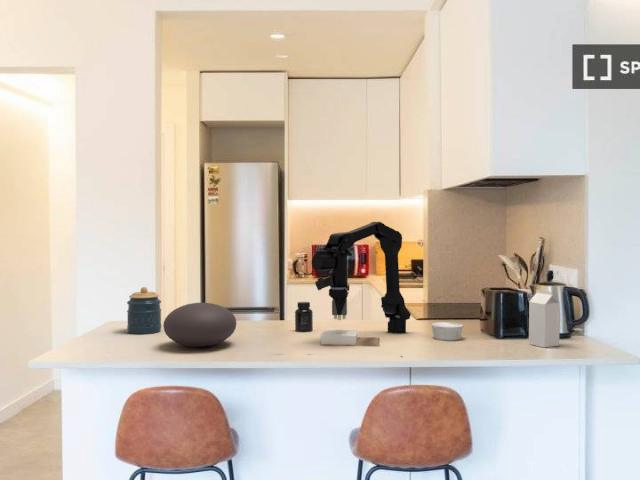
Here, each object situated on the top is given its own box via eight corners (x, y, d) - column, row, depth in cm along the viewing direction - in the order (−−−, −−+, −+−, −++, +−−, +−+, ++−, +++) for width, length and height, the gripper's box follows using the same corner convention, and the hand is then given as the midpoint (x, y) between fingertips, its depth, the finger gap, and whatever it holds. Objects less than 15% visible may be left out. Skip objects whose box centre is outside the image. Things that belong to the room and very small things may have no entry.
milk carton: (544, 348, 204) (545, 292, 204) (528, 344, 210) (529, 290, 210) (559, 346, 207) (560, 291, 207) (543, 342, 214) (543, 289, 213)
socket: (357, 338, 217) (357, 329, 217) (355, 344, 205) (355, 336, 205) (323, 337, 218) (323, 329, 218) (320, 344, 206) (320, 335, 206)
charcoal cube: (347, 318, 214) (347, 299, 213) (346, 320, 209) (346, 300, 208) (333, 318, 214) (333, 299, 214) (332, 320, 209) (331, 300, 209)
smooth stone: (158, 342, 215) (158, 300, 215) (226, 337, 225) (226, 297, 225) (169, 356, 193) (169, 309, 192) (245, 349, 203) (245, 305, 202)
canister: (120, 333, 233) (119, 287, 233) (141, 328, 245) (141, 284, 245) (147, 335, 228) (147, 289, 228) (168, 330, 240) (167, 286, 240)
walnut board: (379, 340, 218) (379, 337, 218) (379, 349, 202) (379, 346, 202) (324, 339, 220) (324, 336, 220) (320, 348, 204) (320, 345, 204)
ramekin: (468, 338, 222) (468, 324, 222) (452, 342, 214) (452, 328, 214) (442, 334, 230) (442, 320, 230) (425, 338, 222) (425, 324, 221)
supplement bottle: (315, 332, 234) (315, 301, 234) (308, 335, 228) (307, 303, 228) (299, 331, 237) (299, 300, 237) (291, 333, 231) (291, 302, 231)
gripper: (319, 267, 221) (319, 309, 221) (313, 271, 202) (314, 317, 203) (349, 267, 220) (349, 309, 220) (347, 271, 201) (347, 317, 202)
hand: (339, 313), depth 211 cm, fingers closed on charcoal cube, 5 cm apart
